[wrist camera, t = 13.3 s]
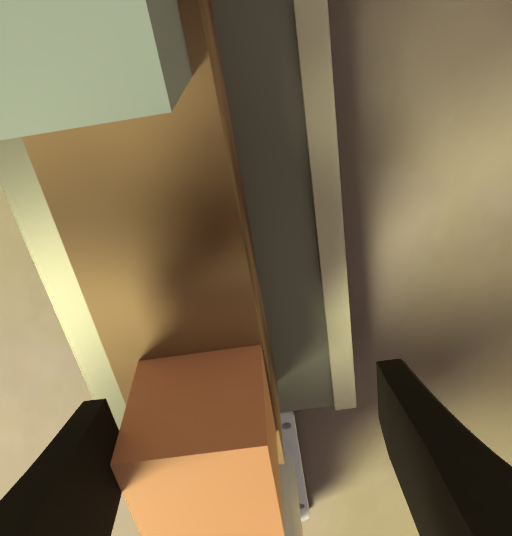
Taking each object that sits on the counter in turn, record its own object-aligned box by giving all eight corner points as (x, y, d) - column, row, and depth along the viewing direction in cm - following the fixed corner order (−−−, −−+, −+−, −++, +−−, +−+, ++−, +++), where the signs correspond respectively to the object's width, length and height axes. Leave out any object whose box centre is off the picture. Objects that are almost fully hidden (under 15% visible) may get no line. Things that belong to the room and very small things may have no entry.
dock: (345, 367, 25) (356, 407, 23) (119, 398, 26) (107, 440, 24) (291, -289, 14) (302, -349, 11) (-118, -204, 14) (-193, -244, 12)
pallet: (277, 381, 22) (284, 464, 18) (169, 395, 23) (155, 480, 19) (175, -199, 13) (145, -285, 9) (-11, -162, 13) (-122, -230, 9)
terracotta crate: (276, 431, 18) (285, 540, 14) (166, 445, 18) (149, 556, 14) (261, 344, 16) (267, 445, 12) (138, 361, 16) (110, 465, 12)
